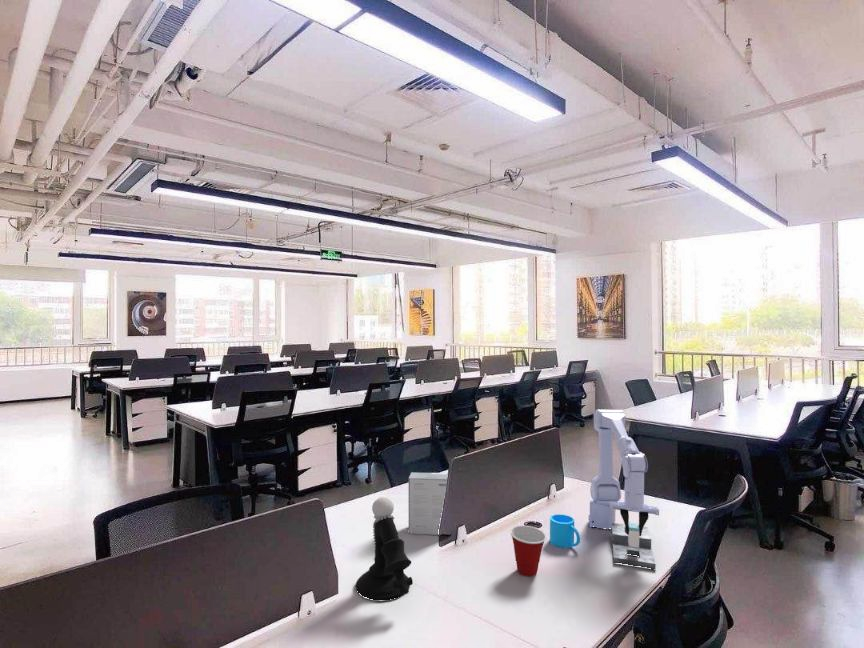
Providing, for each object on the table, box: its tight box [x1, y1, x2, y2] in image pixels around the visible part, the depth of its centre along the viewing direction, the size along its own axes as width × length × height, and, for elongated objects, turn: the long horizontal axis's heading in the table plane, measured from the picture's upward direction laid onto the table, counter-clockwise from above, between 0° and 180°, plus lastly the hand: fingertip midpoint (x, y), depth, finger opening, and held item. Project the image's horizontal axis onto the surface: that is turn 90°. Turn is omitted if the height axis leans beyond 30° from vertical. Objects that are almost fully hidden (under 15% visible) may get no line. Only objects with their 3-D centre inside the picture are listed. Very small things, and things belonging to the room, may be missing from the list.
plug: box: [628, 522, 639, 548], centre depth 158 cm, size 3×4×6 cm
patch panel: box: [610, 522, 657, 570], centre depth 164 cm, size 12×22×4 cm, turn 162°
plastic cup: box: [510, 525, 547, 577], centre depth 150 cm, size 11×11×12 cm
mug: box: [549, 513, 581, 548], centre depth 169 cm, size 12×8×8 cm
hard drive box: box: [408, 471, 448, 536], centre depth 179 cm, size 16×8×20 cm, turn 84°
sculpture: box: [355, 497, 413, 601], centre depth 137 cm, size 15×24×25 cm, turn 27°
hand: (633, 534), depth 158 cm, fingers closed on plug, 3 cm apart
